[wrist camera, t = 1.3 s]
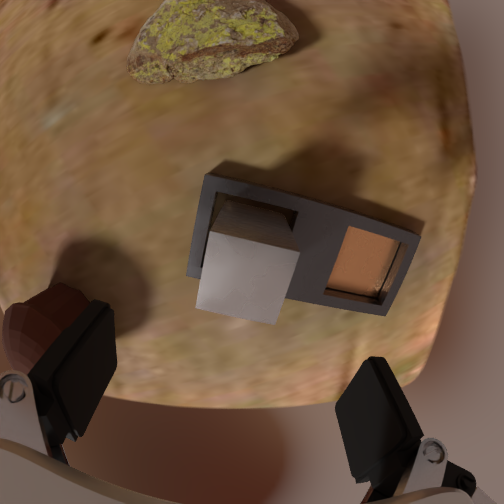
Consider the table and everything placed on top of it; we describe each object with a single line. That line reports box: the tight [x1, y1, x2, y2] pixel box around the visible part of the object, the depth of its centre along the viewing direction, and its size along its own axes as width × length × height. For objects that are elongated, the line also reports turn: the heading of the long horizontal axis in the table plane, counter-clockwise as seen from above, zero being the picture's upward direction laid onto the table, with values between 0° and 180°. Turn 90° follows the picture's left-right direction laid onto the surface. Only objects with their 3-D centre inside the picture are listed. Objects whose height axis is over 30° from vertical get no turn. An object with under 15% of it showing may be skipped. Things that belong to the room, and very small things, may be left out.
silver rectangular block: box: [196, 200, 300, 325], centre depth 18 cm, size 4×4×8 cm
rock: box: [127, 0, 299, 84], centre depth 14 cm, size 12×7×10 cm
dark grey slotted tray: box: [186, 173, 421, 316], centre depth 21 cm, size 8×18×2 cm, turn 76°
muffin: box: [2, 283, 90, 375], centre depth 20 cm, size 12×11×10 cm
